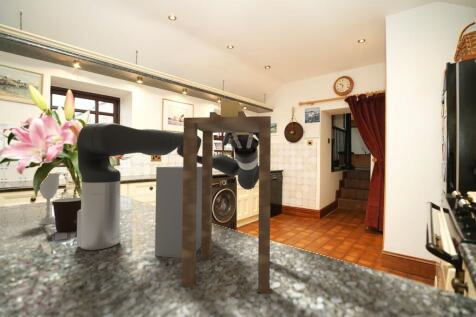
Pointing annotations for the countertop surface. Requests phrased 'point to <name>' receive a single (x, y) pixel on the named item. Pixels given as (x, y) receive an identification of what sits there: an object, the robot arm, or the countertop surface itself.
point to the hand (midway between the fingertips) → (241, 121)
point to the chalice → (49, 195)
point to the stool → (190, 189)
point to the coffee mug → (66, 214)
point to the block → (173, 211)
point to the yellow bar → (231, 111)
